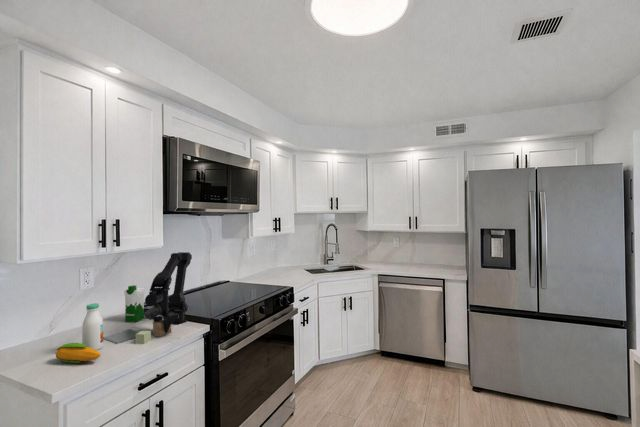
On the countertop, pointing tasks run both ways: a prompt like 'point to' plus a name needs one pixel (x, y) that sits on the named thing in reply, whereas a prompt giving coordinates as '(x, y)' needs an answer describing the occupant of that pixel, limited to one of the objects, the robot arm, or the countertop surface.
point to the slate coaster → (121, 336)
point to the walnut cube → (159, 328)
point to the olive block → (143, 337)
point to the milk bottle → (93, 328)
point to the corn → (76, 353)
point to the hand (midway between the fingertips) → (162, 331)
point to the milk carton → (134, 304)
